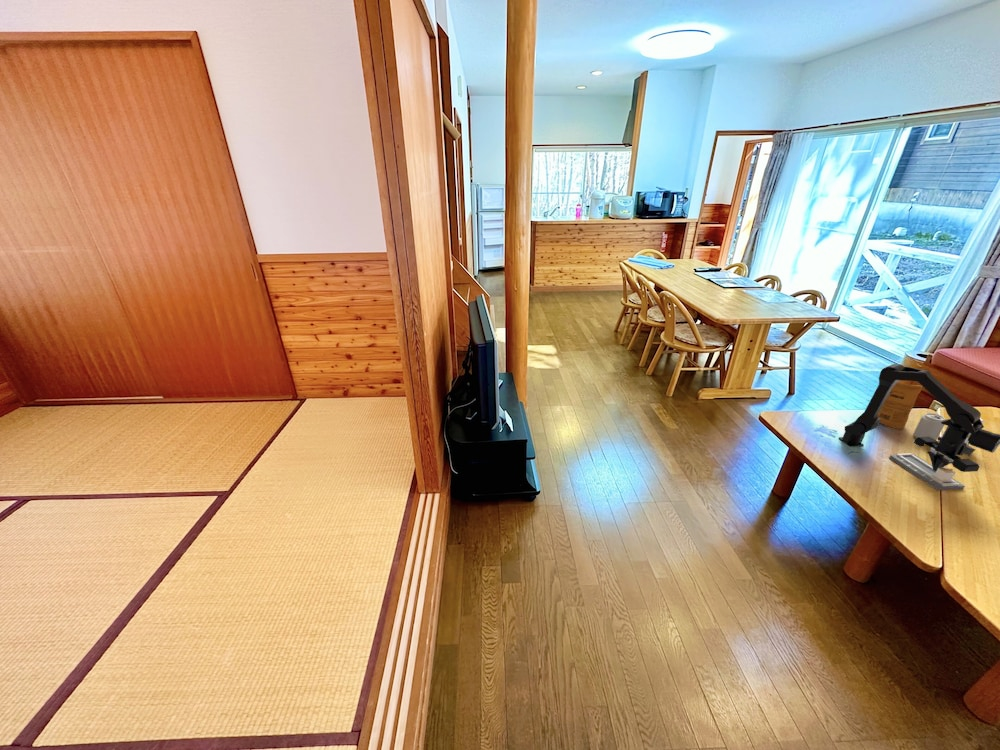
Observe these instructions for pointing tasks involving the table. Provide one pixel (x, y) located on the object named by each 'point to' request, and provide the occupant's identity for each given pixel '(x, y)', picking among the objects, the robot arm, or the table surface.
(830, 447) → the table surface
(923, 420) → the can
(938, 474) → the fader knob
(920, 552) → the table surface
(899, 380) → the robot arm
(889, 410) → the coffee package
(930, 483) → the fader console
